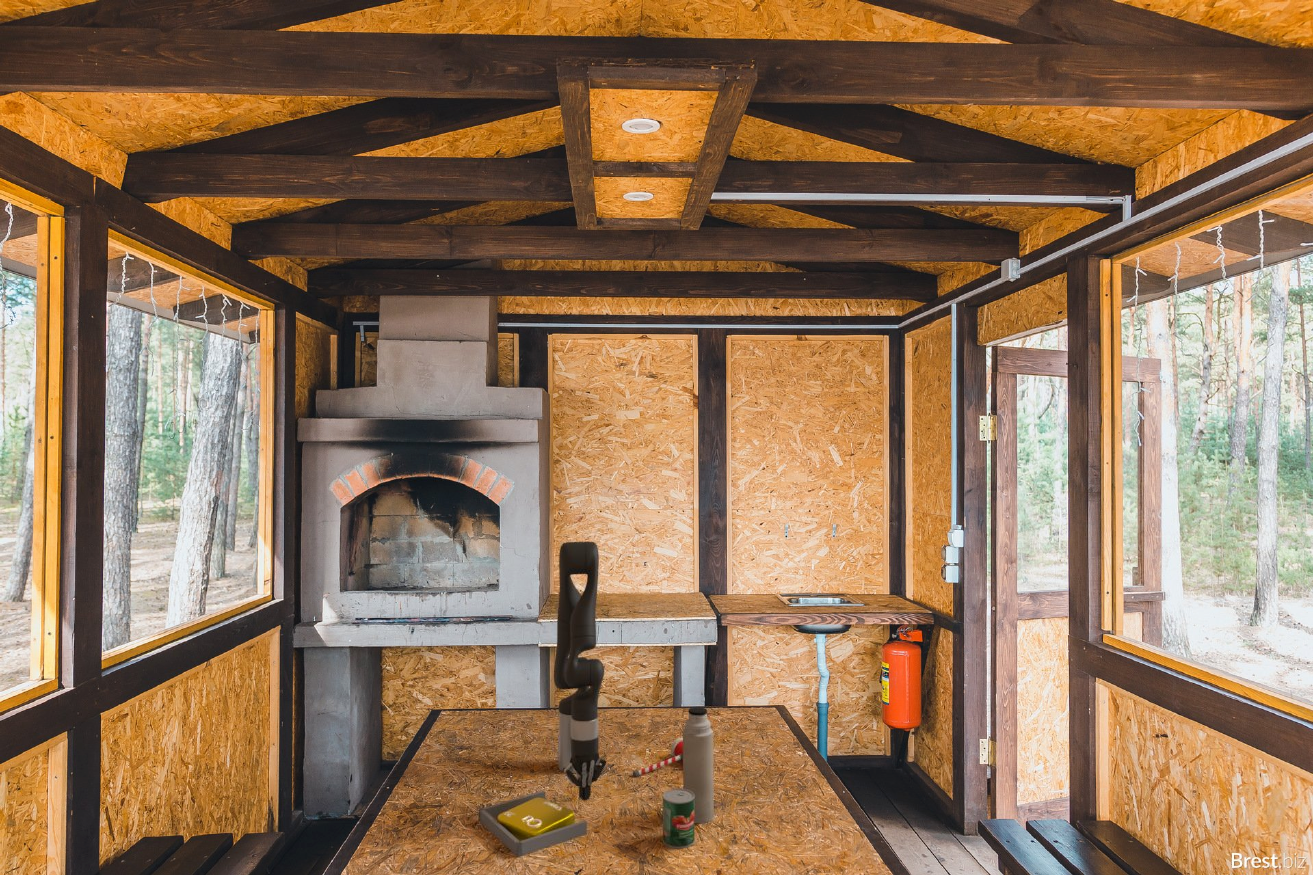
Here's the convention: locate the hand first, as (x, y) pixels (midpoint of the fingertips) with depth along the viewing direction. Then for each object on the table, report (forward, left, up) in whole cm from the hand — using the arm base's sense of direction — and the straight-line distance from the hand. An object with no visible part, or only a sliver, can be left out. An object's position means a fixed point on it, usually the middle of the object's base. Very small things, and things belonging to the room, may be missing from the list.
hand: (584, 798), depth 206 cm
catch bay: (0, -16, -3) cm, 16 cm away
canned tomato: (+28, +10, -3) cm, 30 cm away
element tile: (+2, -16, -3) cm, 16 cm away
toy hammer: (-9, +37, -4) cm, 38 cm away
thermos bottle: (+21, +22, -3) cm, 31 cm away
